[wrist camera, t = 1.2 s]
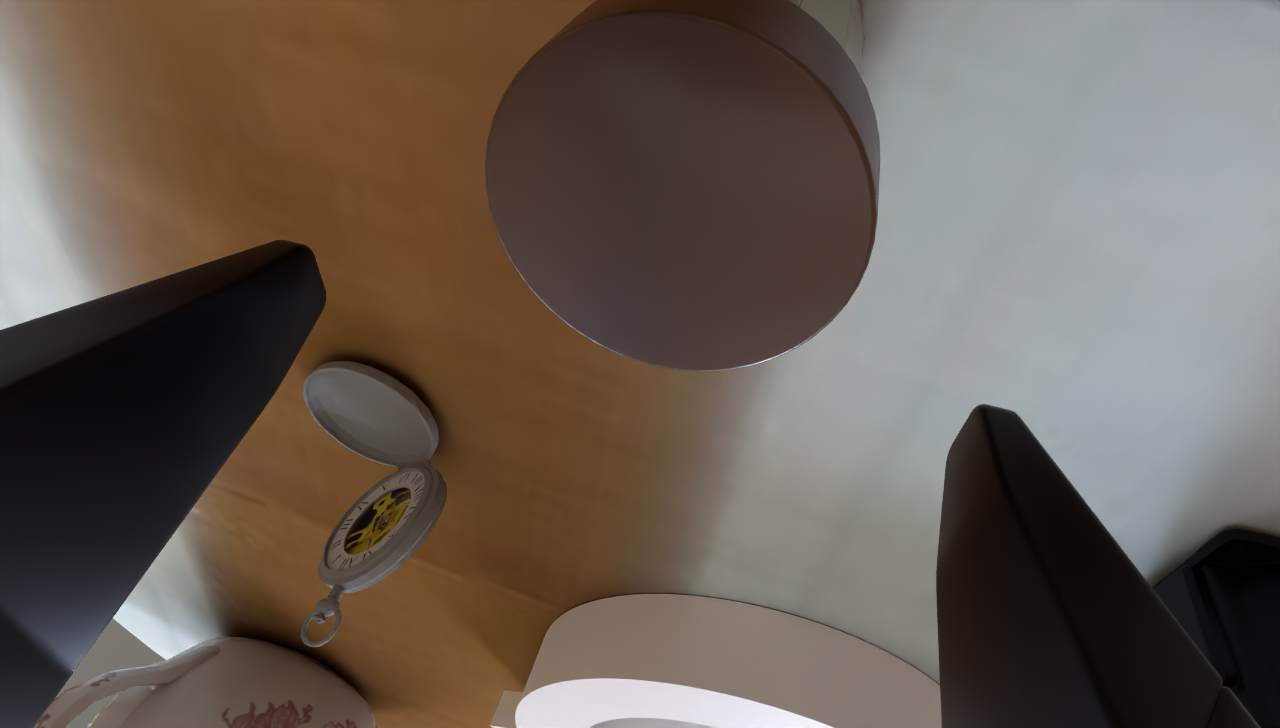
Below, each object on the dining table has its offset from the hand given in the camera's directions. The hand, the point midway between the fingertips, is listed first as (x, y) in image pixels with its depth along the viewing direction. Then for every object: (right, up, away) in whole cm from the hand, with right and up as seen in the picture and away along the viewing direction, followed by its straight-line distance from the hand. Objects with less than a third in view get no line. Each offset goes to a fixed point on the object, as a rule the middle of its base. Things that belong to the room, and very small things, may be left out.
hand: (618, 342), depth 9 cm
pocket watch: (-12, -3, +24) cm, 27 cm away
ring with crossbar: (+7, -23, +36) cm, 43 cm away
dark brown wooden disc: (+1, +3, +3) cm, 5 cm away
